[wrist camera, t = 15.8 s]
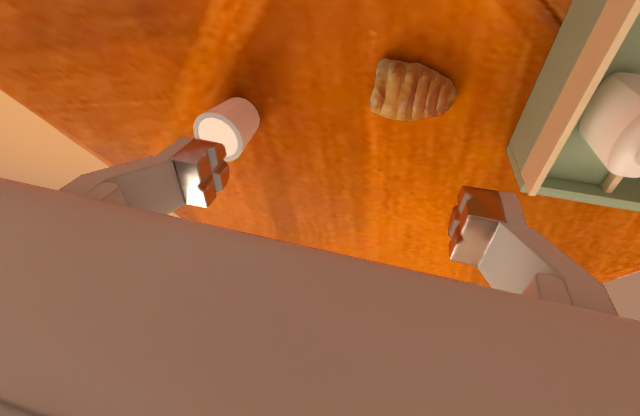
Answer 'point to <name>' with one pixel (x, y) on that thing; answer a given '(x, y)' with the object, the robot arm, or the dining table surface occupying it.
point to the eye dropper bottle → (615, 124)
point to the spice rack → (576, 107)
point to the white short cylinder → (228, 125)
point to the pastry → (410, 91)
